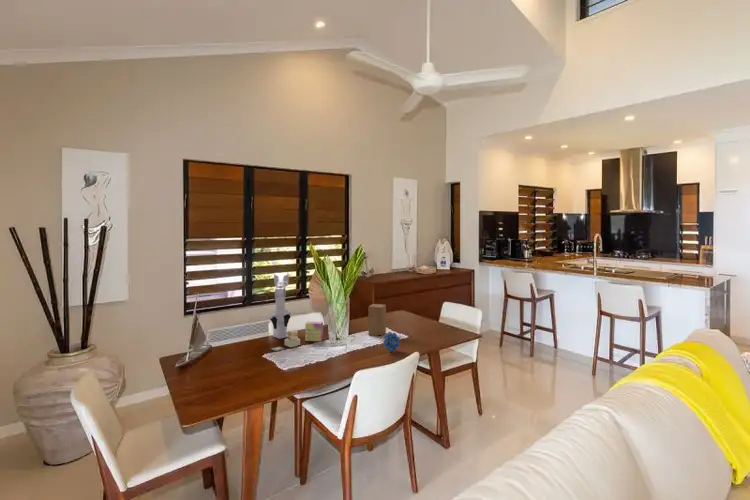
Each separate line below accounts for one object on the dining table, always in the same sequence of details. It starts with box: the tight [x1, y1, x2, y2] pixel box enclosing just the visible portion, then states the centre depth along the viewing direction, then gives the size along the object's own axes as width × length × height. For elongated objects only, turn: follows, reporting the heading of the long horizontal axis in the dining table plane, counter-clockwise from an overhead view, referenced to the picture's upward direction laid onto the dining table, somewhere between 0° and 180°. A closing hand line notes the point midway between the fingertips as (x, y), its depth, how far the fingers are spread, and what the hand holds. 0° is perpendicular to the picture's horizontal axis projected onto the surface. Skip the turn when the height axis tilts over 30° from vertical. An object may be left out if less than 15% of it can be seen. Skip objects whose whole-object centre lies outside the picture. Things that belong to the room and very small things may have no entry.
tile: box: [270, 346, 286, 352], centre depth 228 cm, size 6×6×1 cm
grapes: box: [382, 331, 401, 353], centre depth 223 cm, size 12×7×12 cm, turn 121°
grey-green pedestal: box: [284, 338, 301, 348], centre depth 237 cm, size 7×7×4 cm
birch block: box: [287, 329, 299, 341], centre depth 237 cm, size 4×4×5 cm
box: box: [304, 320, 324, 342], centre depth 247 cm, size 10×6×12 cm, turn 84°
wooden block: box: [367, 303, 387, 336], centre depth 262 cm, size 10×10×20 cm
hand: (280, 327), depth 240 cm, fingers open, 7 cm apart
